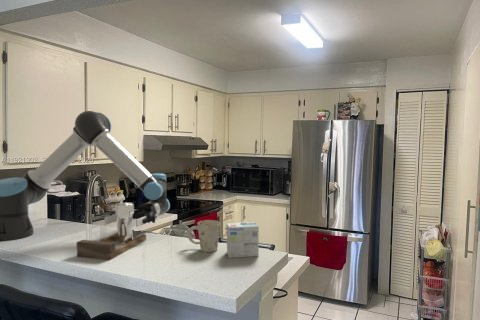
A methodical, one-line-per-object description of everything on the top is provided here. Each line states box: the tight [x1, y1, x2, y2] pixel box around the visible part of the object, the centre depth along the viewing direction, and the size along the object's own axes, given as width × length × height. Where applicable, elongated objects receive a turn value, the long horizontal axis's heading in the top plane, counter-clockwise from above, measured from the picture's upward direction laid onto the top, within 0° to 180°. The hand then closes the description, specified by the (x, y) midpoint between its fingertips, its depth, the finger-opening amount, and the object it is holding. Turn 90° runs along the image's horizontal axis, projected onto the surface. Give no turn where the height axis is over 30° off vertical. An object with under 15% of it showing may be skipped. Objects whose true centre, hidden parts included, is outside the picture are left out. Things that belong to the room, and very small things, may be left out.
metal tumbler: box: [115, 202, 135, 245], centre depth 139 cm, size 7×7×15 cm
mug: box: [187, 219, 221, 253], centre depth 130 cm, size 8×13×10 cm, turn 78°
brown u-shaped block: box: [76, 232, 147, 261], centre depth 132 cm, size 24×13×5 cm, turn 166°
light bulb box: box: [226, 221, 260, 259], centre depth 125 cm, size 11×7×11 cm, turn 100°
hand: (121, 222), depth 136 cm, fingers open, 13 cm apart
